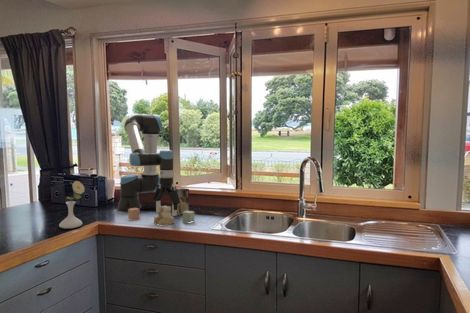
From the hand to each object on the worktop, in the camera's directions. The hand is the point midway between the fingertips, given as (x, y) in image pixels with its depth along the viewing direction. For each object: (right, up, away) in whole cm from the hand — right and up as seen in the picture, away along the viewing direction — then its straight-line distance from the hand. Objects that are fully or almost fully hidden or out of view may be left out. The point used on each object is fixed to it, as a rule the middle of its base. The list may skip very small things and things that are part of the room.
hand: (166, 213), depth 186 cm
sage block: (+12, -5, +4) cm, 14 cm away
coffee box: (+4, -4, +23) cm, 24 cm away
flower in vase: (-48, -5, -11) cm, 50 cm away
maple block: (-1, -2, -1) cm, 2 cm away
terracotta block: (-21, -5, +9) cm, 23 cm away
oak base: (-1, -6, -1) cm, 6 cm away
